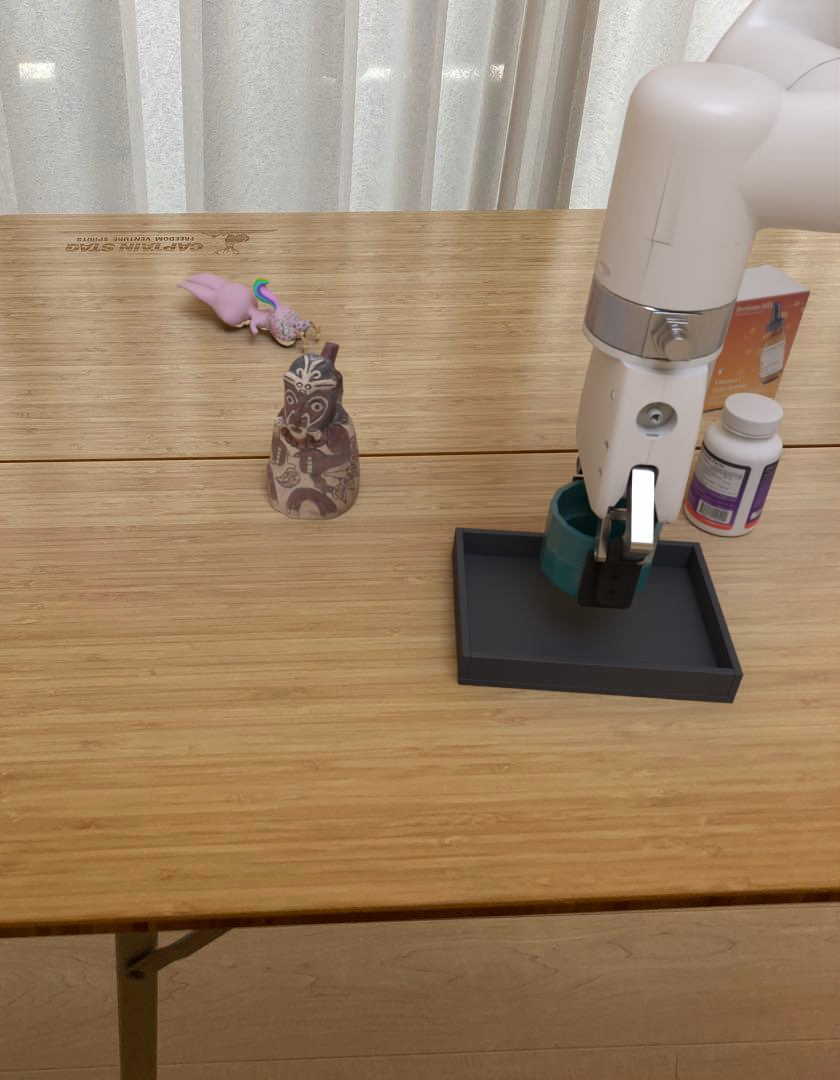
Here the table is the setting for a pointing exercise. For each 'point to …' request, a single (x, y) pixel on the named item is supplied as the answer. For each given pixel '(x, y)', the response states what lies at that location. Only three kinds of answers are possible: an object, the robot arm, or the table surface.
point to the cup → (580, 538)
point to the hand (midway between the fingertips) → (595, 563)
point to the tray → (588, 625)
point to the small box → (757, 336)
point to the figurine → (313, 442)
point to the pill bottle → (736, 466)
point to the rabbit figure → (248, 306)
